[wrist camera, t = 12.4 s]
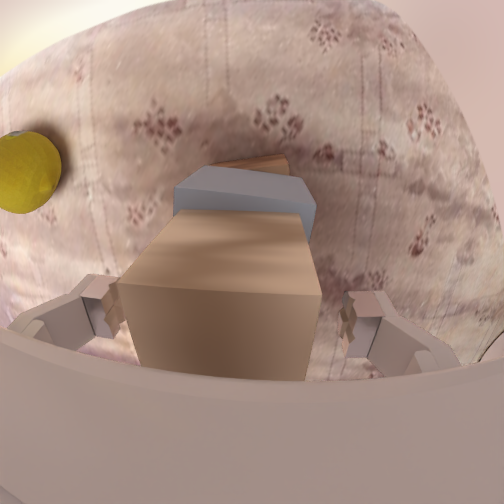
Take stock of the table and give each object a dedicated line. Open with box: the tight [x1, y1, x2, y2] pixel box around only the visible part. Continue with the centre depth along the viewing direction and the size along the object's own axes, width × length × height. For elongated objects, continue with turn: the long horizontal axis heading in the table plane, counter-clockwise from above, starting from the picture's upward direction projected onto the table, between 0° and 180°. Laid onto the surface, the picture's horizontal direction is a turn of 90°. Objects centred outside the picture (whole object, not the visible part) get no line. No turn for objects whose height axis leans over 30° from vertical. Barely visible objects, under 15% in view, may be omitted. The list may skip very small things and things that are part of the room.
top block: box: [173, 165, 317, 245], centre depth 16 cm, size 6×6×6 cm
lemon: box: [0, 131, 61, 214], centre depth 19 cm, size 11×8×8 cm
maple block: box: [117, 209, 322, 381], centre depth 10 cm, size 5×5×6 cm
